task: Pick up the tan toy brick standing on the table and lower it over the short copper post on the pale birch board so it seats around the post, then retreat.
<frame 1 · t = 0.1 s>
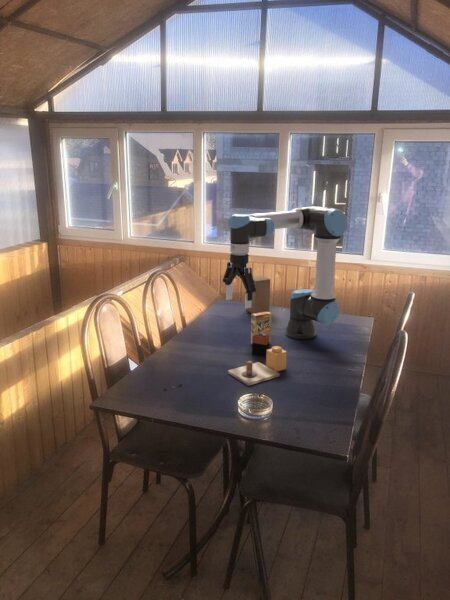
hand: (238, 303, 207), 28 cm above the table, fingers open, 13 cm apart
candy box: (260, 343, 239), on the table
tan toy brick: (275, 368, 212), on the table
birch board: (253, 374, 206), on the table
battery: (260, 354, 227), on the table
wooden block: (257, 311, 287), on the table
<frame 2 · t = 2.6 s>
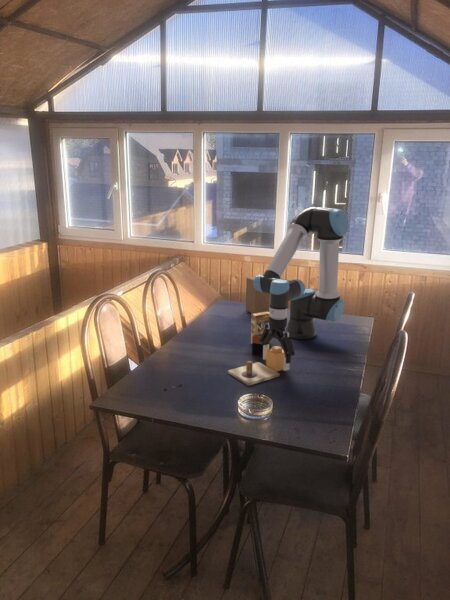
hand: (275, 364, 212), 2 cm above the table, fingers open, 13 cm apart
nothing on the table moved.
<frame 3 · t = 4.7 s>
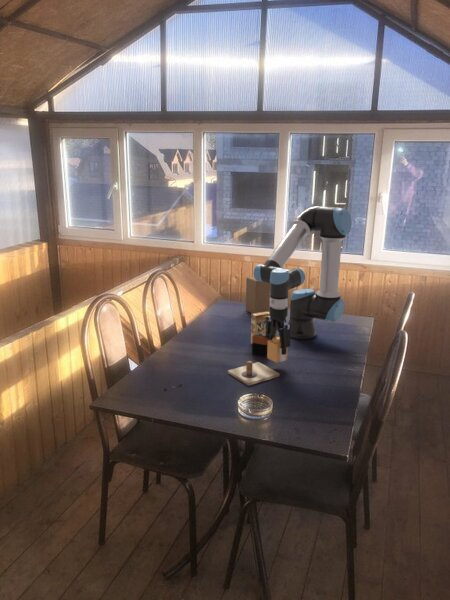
hand: (277, 357, 212), 4 cm above the table, fingers closed on tan toy brick, 6 cm apart
tan toy brick: (277, 358, 212), point 4 cm above the table, touching gripper
everything else where it was.
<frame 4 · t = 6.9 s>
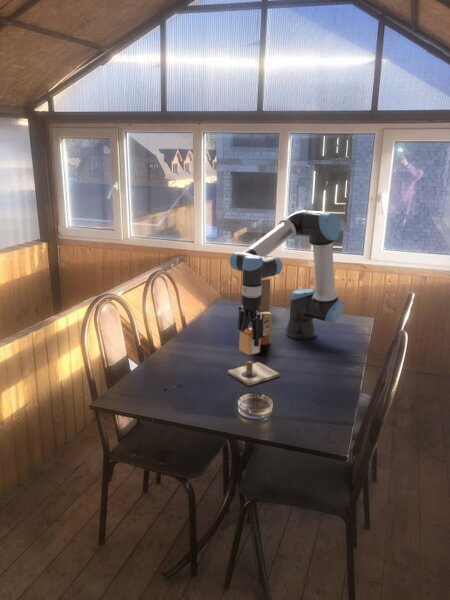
hand: (249, 350, 200), 12 cm above the table, fingers closed on tan toy brick, 6 cm apart
tan toy brick: (249, 351, 200), point 12 cm above the table, touching gripper
everything else where it was.
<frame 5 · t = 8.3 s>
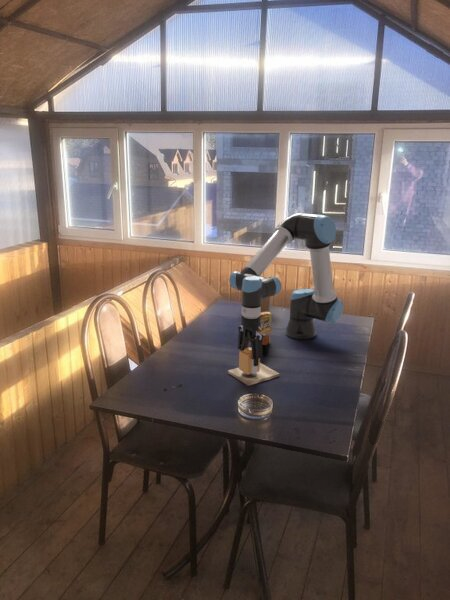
hand: (249, 369, 202), 3 cm above the table, fingers closed on tan toy brick, 6 cm apart
tan toy brick: (249, 370, 202), point 3 cm above the table, touching gripper
everything else where it was.
when the fingers open (2 cm above the table, at t = 9.2 s): tan toy brick stays where it is, resting on birch board.
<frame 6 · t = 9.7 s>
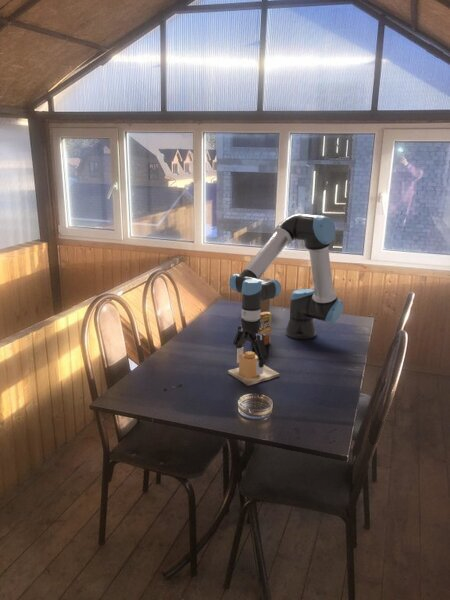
hand: (249, 368, 202), 4 cm above the table, fingers open, 13 cm apart
tan toy brick: (249, 374, 203), point 1 cm above the table, touching birch board
everything else where it was.
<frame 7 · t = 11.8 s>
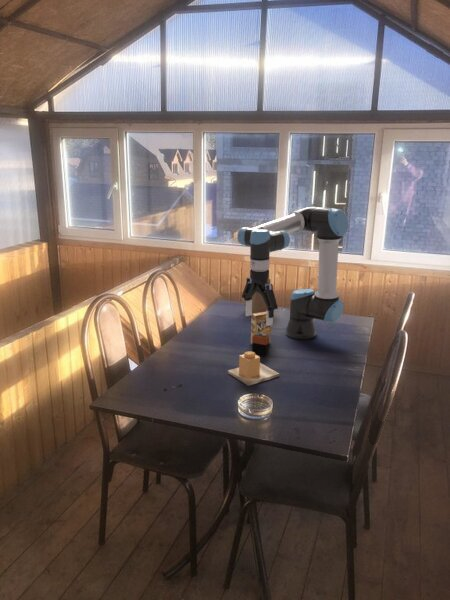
hand: (258, 320, 201), 23 cm above the table, fingers open, 13 cm apart
nothing on the table moved.
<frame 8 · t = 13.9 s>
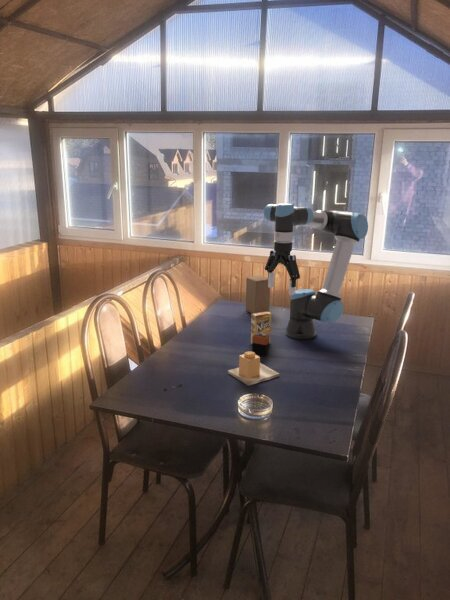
hand: (281, 290, 213), 32 cm above the table, fingers open, 13 cm apart
nothing on the table moved.
at the end: tan toy brick 0.1 cm from the target spot on the birch board, point 1.3 cm above the birch board's base; tan toy brick tilted 0°; the gripper is holding nothing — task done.
